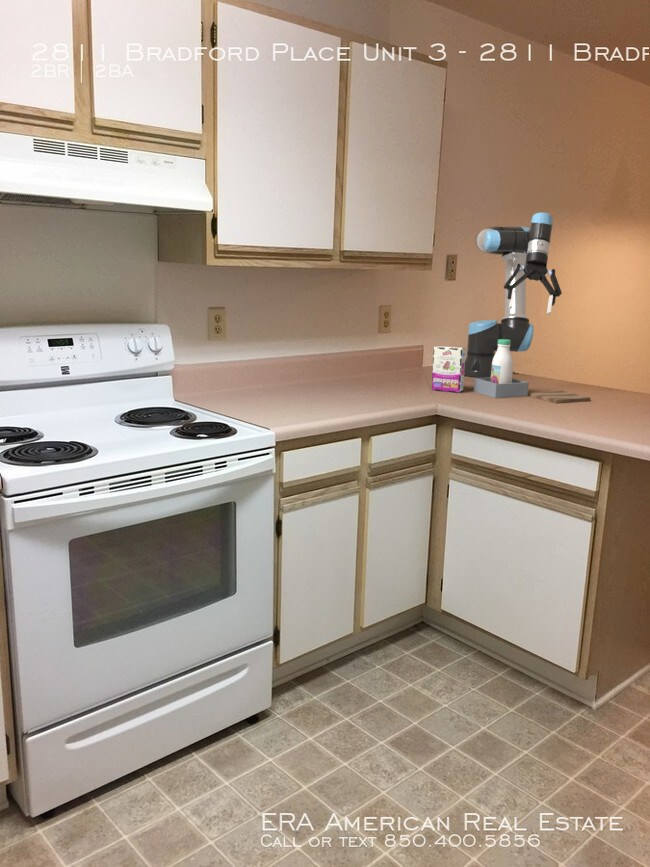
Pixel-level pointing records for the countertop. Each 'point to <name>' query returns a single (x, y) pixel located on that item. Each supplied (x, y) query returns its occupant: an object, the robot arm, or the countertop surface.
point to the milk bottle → (502, 363)
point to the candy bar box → (448, 369)
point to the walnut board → (559, 396)
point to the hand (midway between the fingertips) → (529, 310)
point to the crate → (501, 388)
